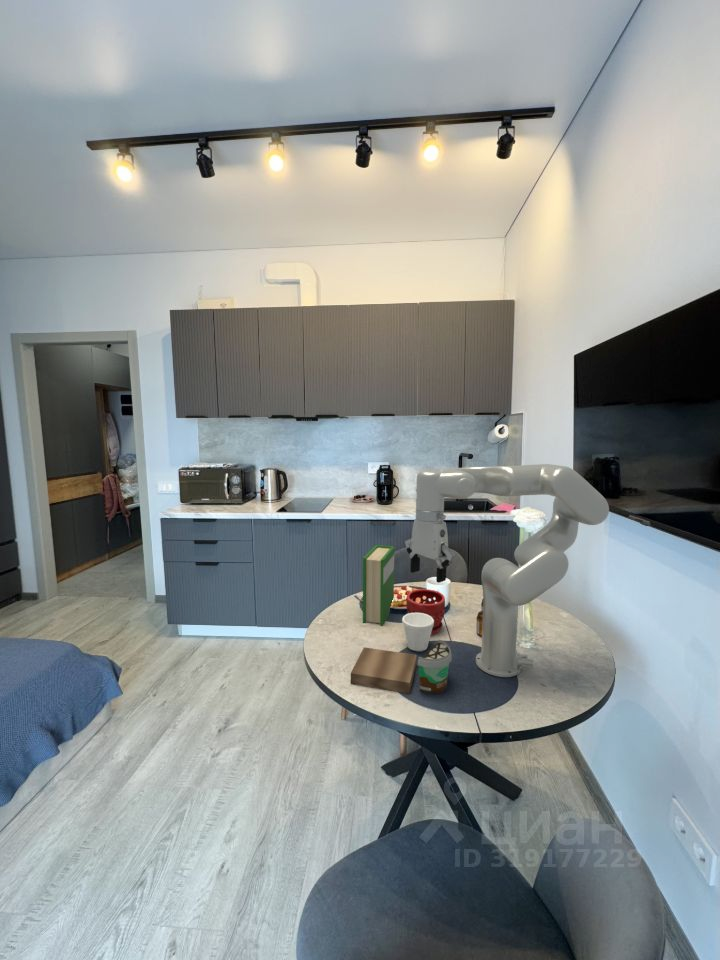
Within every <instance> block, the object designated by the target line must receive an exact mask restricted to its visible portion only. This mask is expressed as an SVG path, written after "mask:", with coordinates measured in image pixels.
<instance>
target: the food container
mask: <svg viewBox="0 0 720 960" xmlns="http://www.w3.org/2000/svg"><path fill="white" fill-rule="evenodd" d="M452 659H453V656H452V651H451V648H450V645H448V644H447V643H446V642H445V641H444V640H441V639H437V643H436V645H434V646H433V647H431V648H429V650H427V652H426V653H424V655H423V656H422V657H421V656H418V660H417V666H418V674H419V675H418V678H419V680H418V681H419V692H421V693H425V694H430V695H432V694H433V695H435V694H439V693H442V692H444V691H445V690H446V689H447V685H448V675H449V666H450V663H451V662H452Z"/></svg>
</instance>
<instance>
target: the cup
mask: <svg viewBox="0 0 720 960" xmlns="http://www.w3.org/2000/svg"><path fill="white" fill-rule="evenodd" d="M401 623H402V625H403V628H404V632H405V633H404V634H405V639H406V643H407V647H408V649H409V650H411V651H413V652H417V653H420V652H422V653H423V652H425V651H426V650H428V646H429V642H430V638H431V635H432V634H431V632H432V628H433V625H434V620H433V618H432V617H431V616H429V615H427V614H424V613H409V614H408V613H406V614H405V615H403V616H402V618H401Z"/></svg>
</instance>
